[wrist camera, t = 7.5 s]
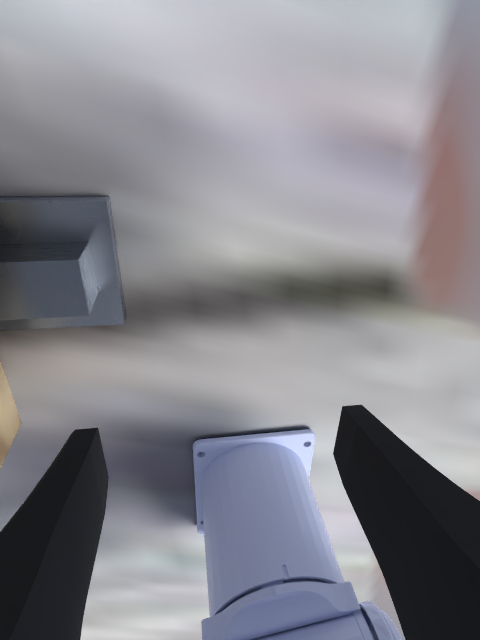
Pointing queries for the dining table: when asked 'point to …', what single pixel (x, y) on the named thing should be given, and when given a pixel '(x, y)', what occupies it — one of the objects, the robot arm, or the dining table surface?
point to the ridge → (58, 263)
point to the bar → (7, 417)
